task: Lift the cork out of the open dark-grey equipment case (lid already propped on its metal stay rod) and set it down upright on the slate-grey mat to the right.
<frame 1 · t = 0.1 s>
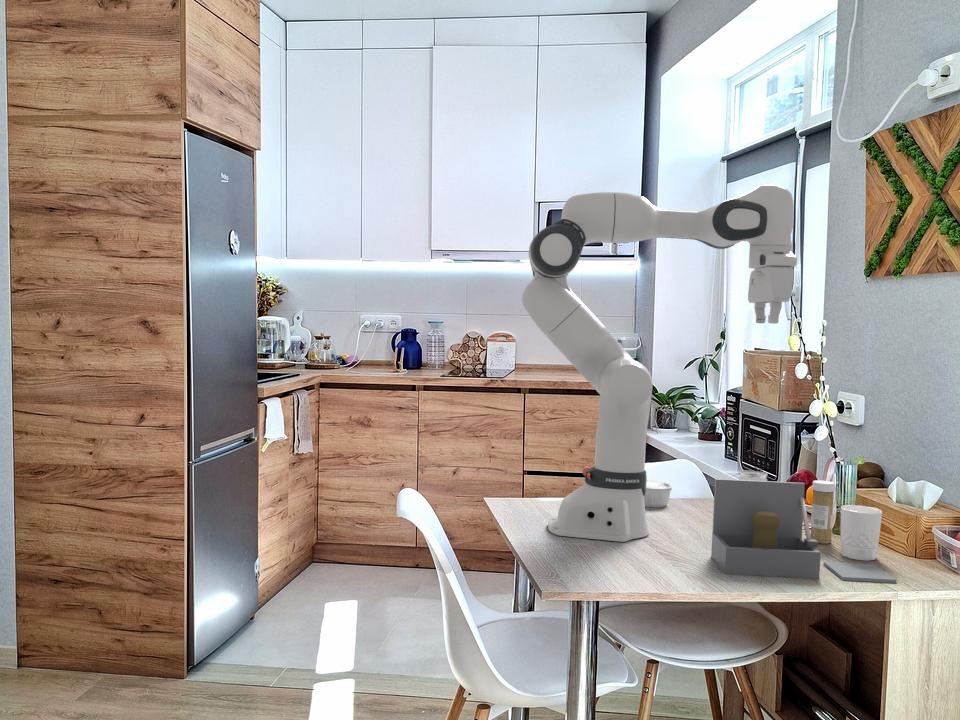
hand: (766, 323, 186), 48 cm above the table, tool pointing down, fingers open, 8 cm apart
cork: (763, 568, 166), resting in case
case: (763, 567, 166), on the table
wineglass: (750, 522, 204), on the table
sprinkles bottle: (820, 542, 188), on the table
white cup: (858, 557, 177), on the table
mat: (858, 573, 164), on the table
ramekin: (648, 504, 221), on the table
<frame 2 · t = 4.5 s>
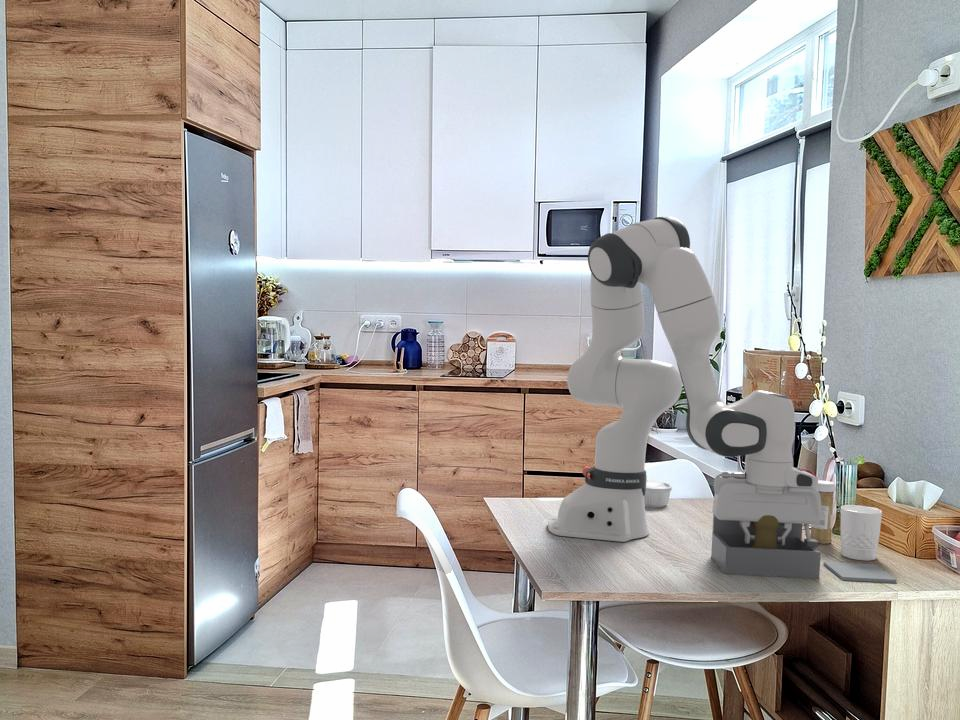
hand: (764, 544, 165), 5 cm above the table, tool pointing down, fingers closed on cork, 4 cm apart
cork: (763, 568, 166), resting in case, touching gripper
everything else where it was.
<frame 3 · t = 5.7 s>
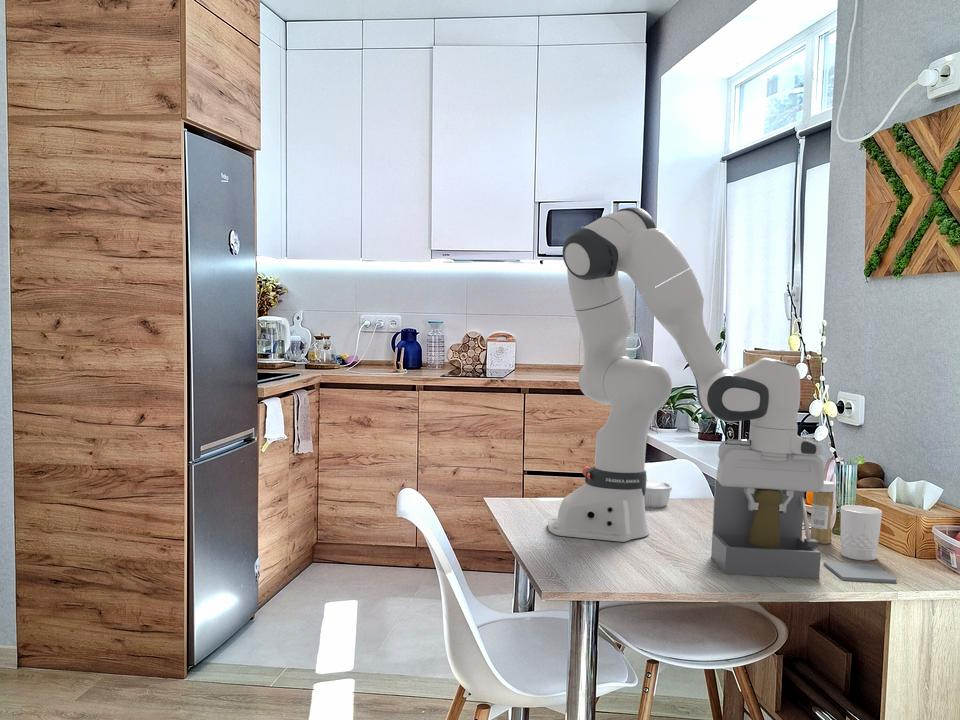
hand: (766, 511, 166), 11 cm above the table, tool pointing down, fingers closed on cork, 4 cm apart
cork: (764, 544, 167), point 4 cm above the table, touching gripper
everything else where it was.
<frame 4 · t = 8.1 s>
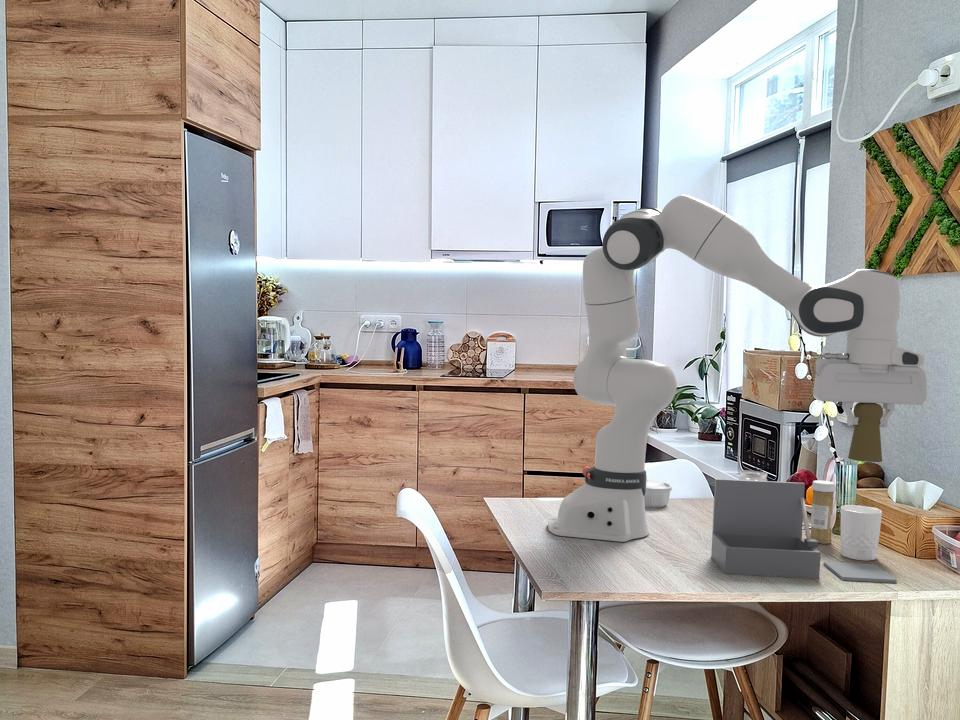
hand: (866, 426, 162), 29 cm above the table, tool pointing down, fingers closed on cork, 4 cm apart
cork: (864, 460, 163), point 22 cm above the table, touching gripper
everything else where it was.
when the fingers open (7 cm above the table, at t = 10.8 s): cork stays where it is, resting on mat.
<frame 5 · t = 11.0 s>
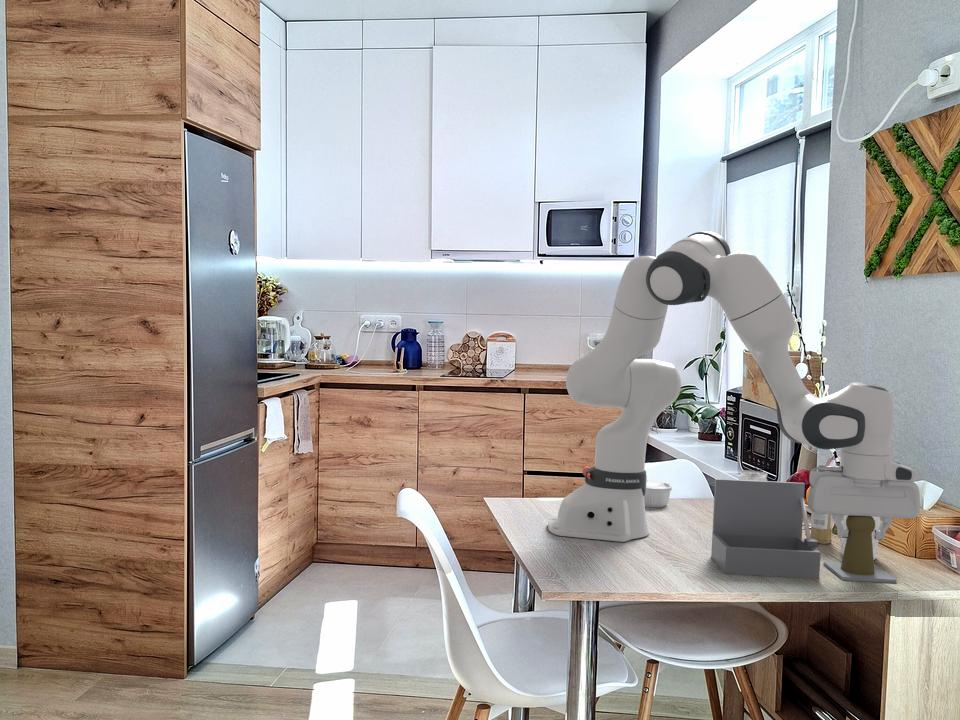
hand: (860, 538, 164), 7 cm above the table, tool pointing down, fingers open, 5 cm apart
cork: (857, 571, 164), resting on mat
everything else where it was.
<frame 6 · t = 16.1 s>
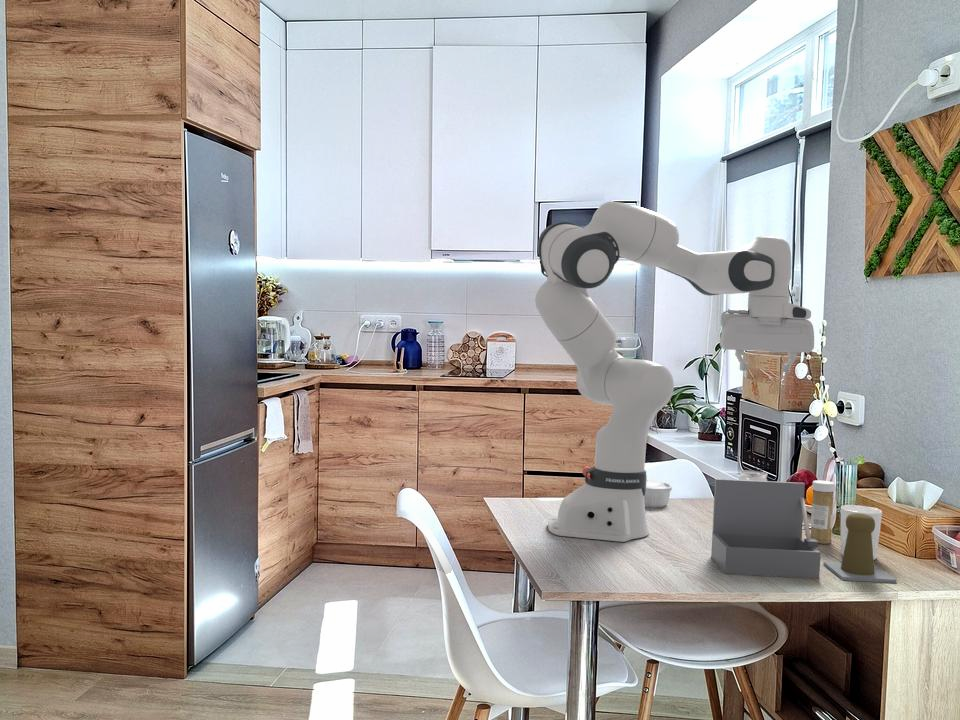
hand: (765, 371, 191), 37 cm above the table, tool pointing down, fingers open, 8 cm apart
nothing on the table moved.
at the end: cork inside the target area on the mat (0.4 cm from its centre), point 0.4 cm above the mat's base; cork tilted 0°; the gripper is holding nothing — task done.
